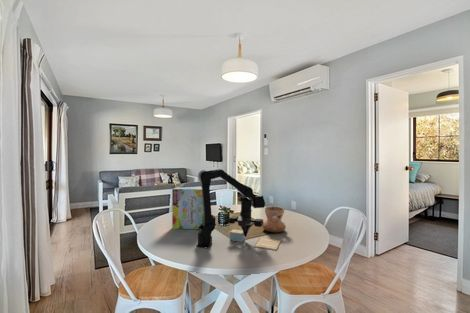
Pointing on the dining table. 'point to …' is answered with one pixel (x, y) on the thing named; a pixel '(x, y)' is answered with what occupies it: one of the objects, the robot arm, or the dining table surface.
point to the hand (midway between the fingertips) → (245, 236)
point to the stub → (237, 235)
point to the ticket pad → (267, 243)
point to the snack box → (187, 208)
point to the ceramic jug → (274, 219)
